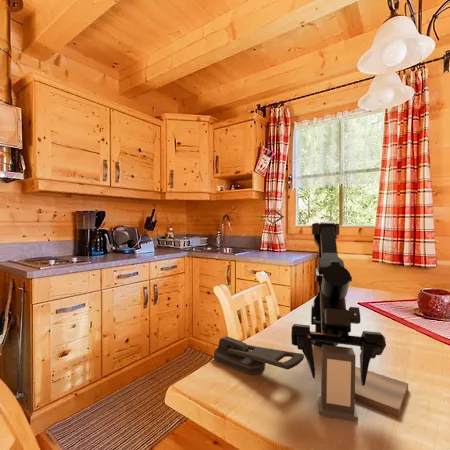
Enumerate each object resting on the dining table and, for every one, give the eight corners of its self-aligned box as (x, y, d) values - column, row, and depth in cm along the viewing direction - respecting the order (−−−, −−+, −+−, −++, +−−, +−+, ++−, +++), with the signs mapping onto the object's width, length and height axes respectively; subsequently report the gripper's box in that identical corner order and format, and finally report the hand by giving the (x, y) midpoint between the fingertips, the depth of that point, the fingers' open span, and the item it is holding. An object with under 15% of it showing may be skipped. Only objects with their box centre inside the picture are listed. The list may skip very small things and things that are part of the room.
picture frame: (318, 400, 62) (319, 342, 61) (353, 405, 60) (354, 346, 60) (319, 415, 57) (320, 353, 57) (357, 422, 55) (359, 357, 55)
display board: (353, 371, 73) (353, 365, 73) (408, 389, 66) (408, 383, 66) (337, 393, 64) (337, 386, 64) (398, 417, 56) (398, 409, 56)
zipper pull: (289, 367, 63) (209, 335, 79) (288, 397, 63) (209, 359, 80) (307, 353, 69) (230, 326, 86) (307, 380, 69) (230, 348, 86)
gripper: (292, 288, 64) (289, 360, 54) (384, 294, 59) (401, 375, 49) (292, 312, 72) (290, 379, 61) (374, 319, 67) (387, 393, 57)
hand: (338, 381), depth 57 cm, fingers open, 9 cm apart
